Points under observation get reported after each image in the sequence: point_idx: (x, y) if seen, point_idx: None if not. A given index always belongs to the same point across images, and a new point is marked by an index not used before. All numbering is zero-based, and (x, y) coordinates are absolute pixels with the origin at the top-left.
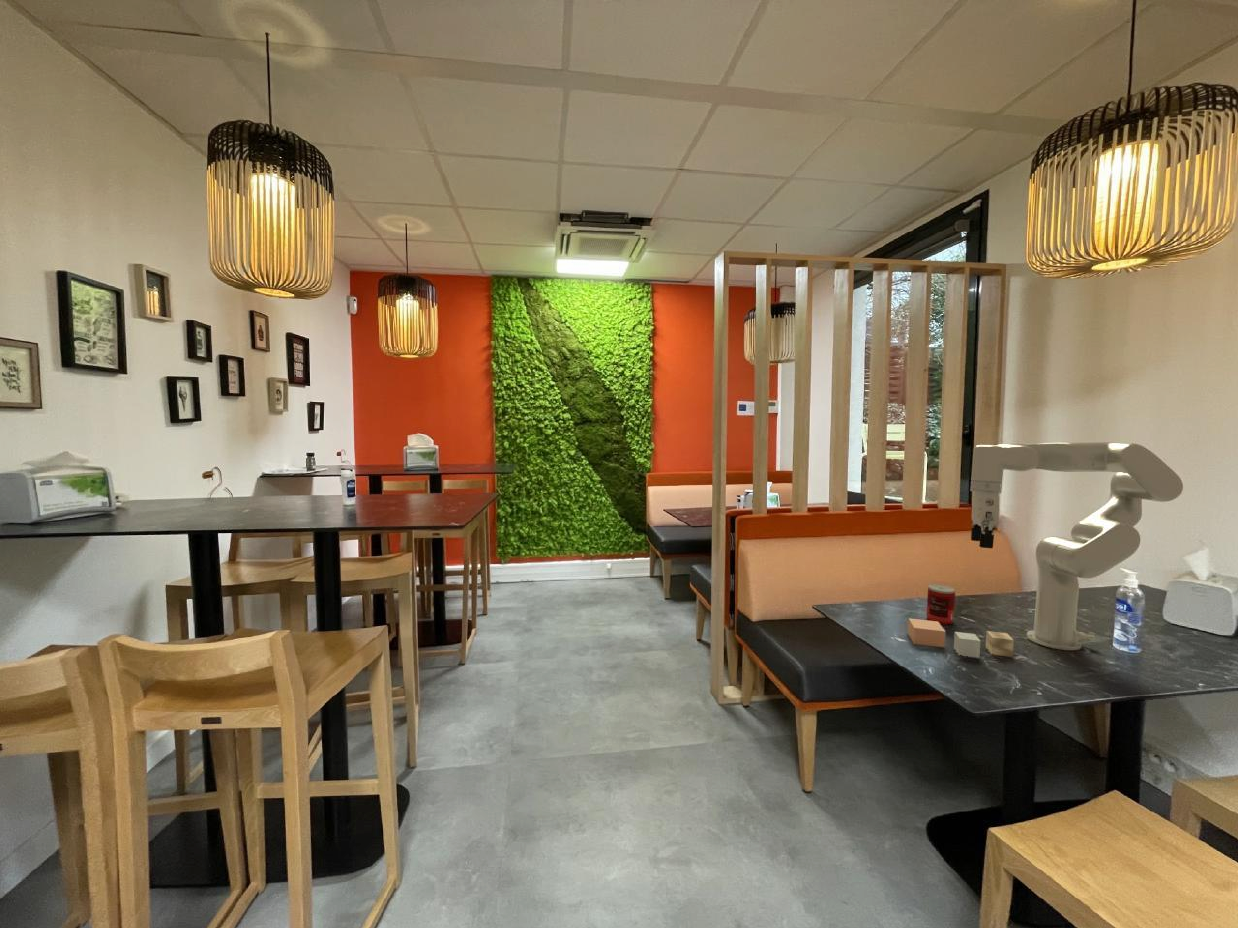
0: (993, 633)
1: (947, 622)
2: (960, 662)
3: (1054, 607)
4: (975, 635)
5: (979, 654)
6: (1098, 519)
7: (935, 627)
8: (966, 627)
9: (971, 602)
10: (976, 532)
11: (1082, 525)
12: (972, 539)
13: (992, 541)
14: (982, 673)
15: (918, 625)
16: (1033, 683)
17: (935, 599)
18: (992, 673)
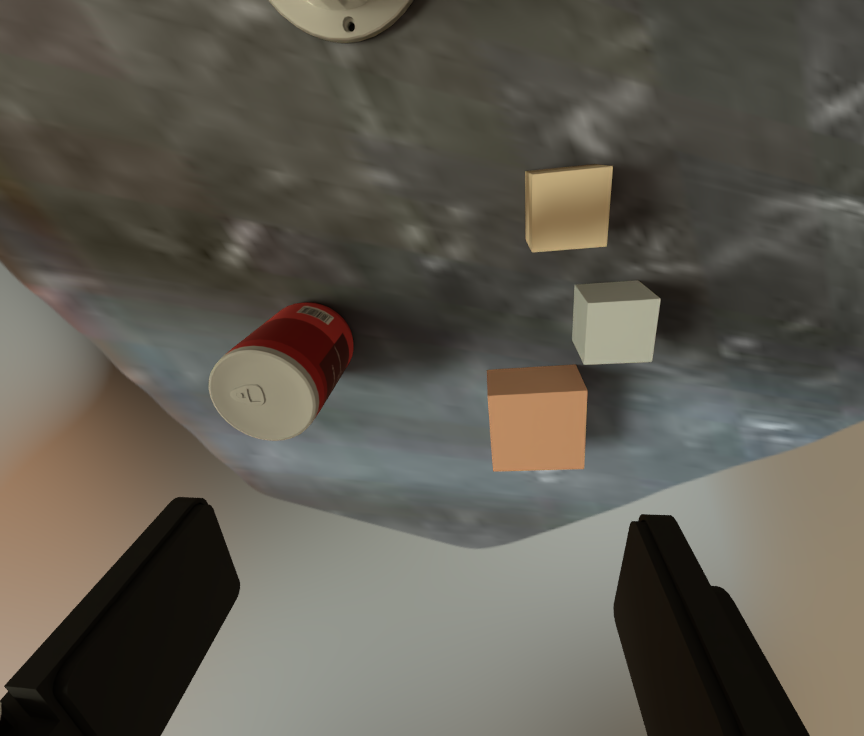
0: (554, 231)
1: (346, 325)
2: (693, 342)
3: None
4: (602, 303)
5: (642, 284)
6: None
7: (555, 412)
8: (342, 264)
9: (5, 187)
10: (161, 672)
11: None
12: (235, 594)
13: (714, 611)
14: (771, 297)
15: (556, 455)
16: (836, 149)
17: (325, 401)
18: (766, 267)
